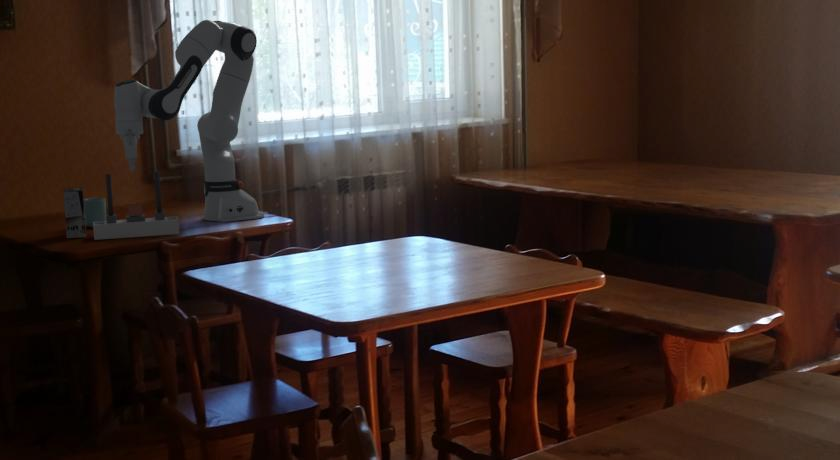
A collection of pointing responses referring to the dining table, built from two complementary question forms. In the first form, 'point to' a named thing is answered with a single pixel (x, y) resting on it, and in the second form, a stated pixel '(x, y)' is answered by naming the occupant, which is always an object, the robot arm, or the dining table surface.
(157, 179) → the cord
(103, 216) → the cup
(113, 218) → the cord
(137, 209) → the block
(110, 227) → the power strip
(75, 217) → the coffee box
